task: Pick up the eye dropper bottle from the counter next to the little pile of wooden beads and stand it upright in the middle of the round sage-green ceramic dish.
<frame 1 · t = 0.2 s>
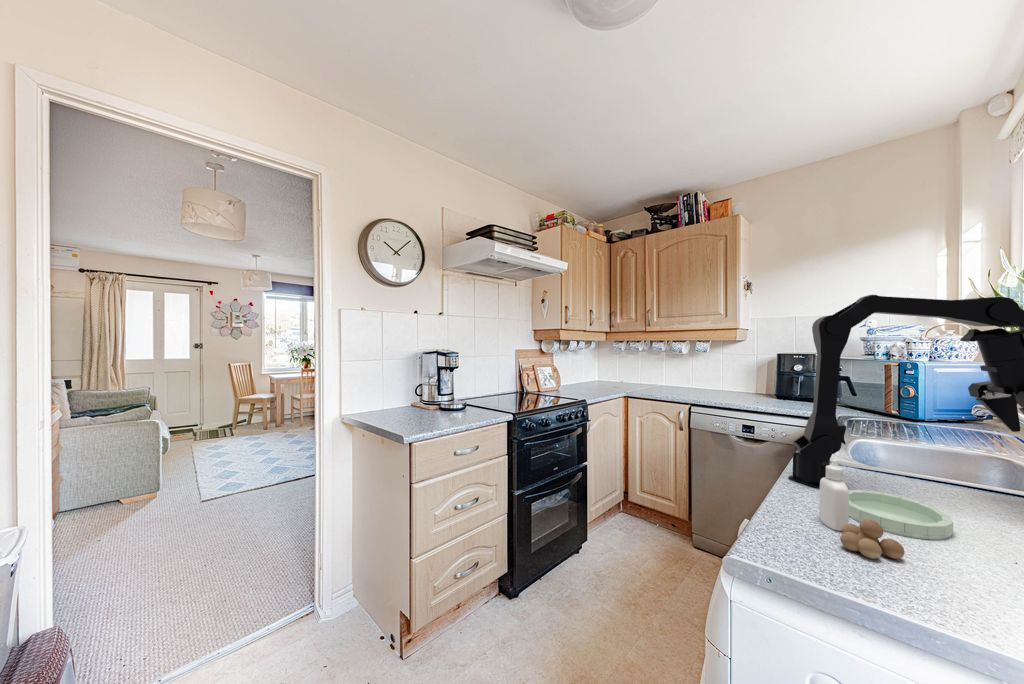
eye dropper bottle: (833, 525, 69), on the counter
sage dish: (891, 518, 72), on the counter
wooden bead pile: (867, 549, 61), on the counter
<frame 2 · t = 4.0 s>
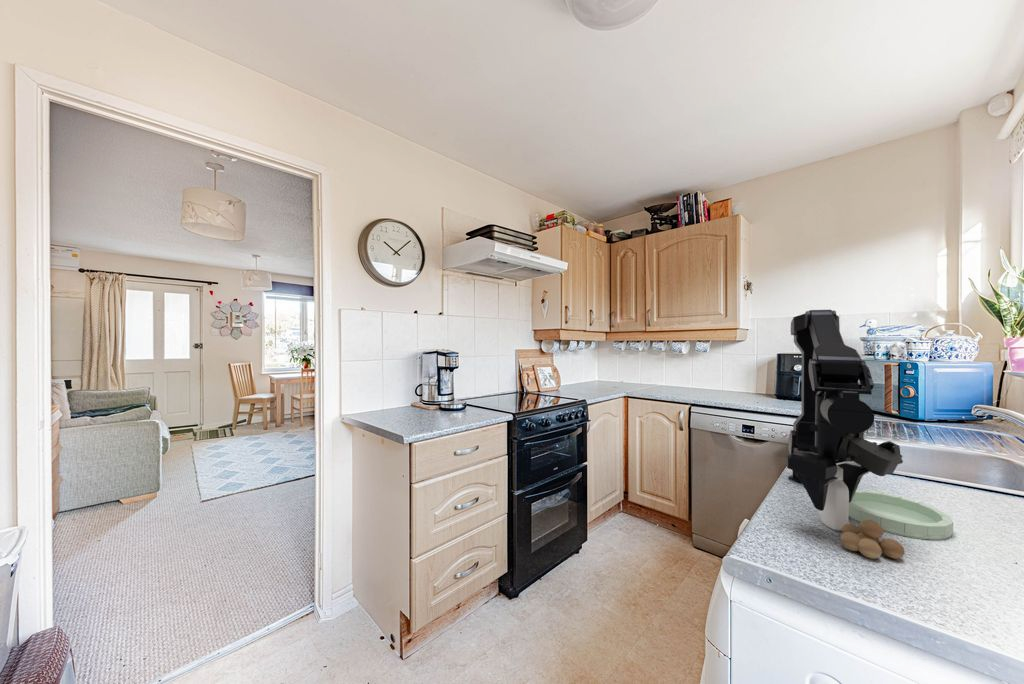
hand: (833, 505, 69), 4 cm above the counter, tool pointing down, fingers closed on eye dropper bottle, 8 cm apart
eye dropper bottle: (833, 525, 69), on the counter, touching gripper
when the fingers open (5 cm above the counter, at t = 9.2 s): eye dropper bottle stays where it is, resting on sage dish.
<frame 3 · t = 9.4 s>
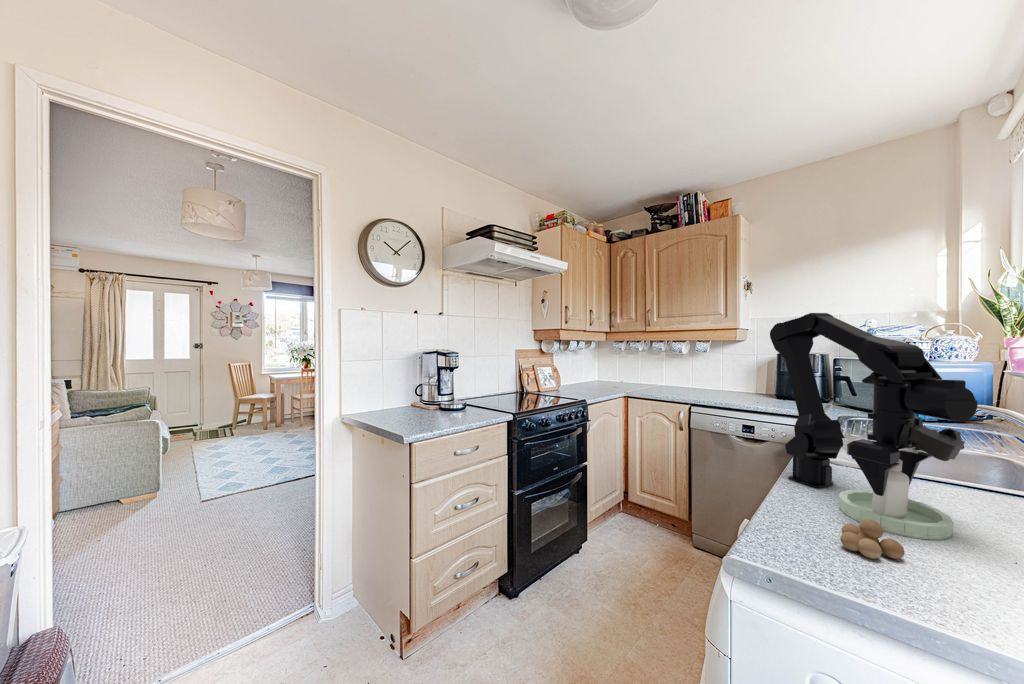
hand: (892, 491, 71), 5 cm above the counter, tool pointing down, fingers open, 9 cm apart
eye dropper bottle: (888, 515, 71), point 1 cm above the counter, touching sage dish
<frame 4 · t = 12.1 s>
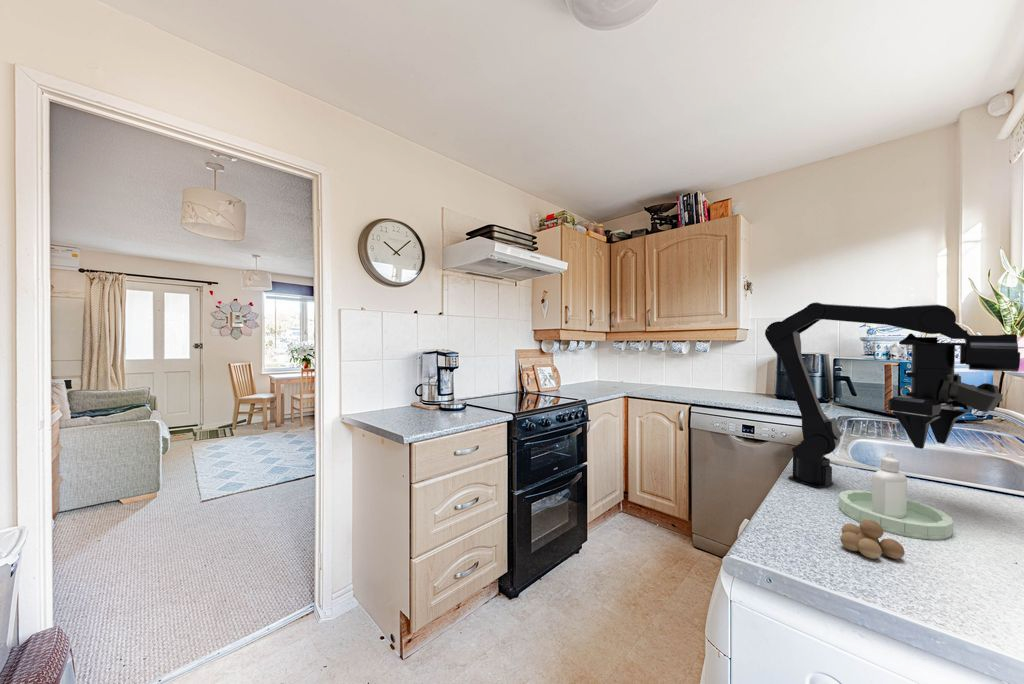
hand: (930, 445, 75), 13 cm above the counter, tool pointing down, fingers open, 9 cm apart
nothing on the counter moved.
at the end: eye dropper bottle 0.6 cm from the sage dish (horizontally); eye dropper bottle point 0.6 cm above the counter; eye dropper bottle tilted 0° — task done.
